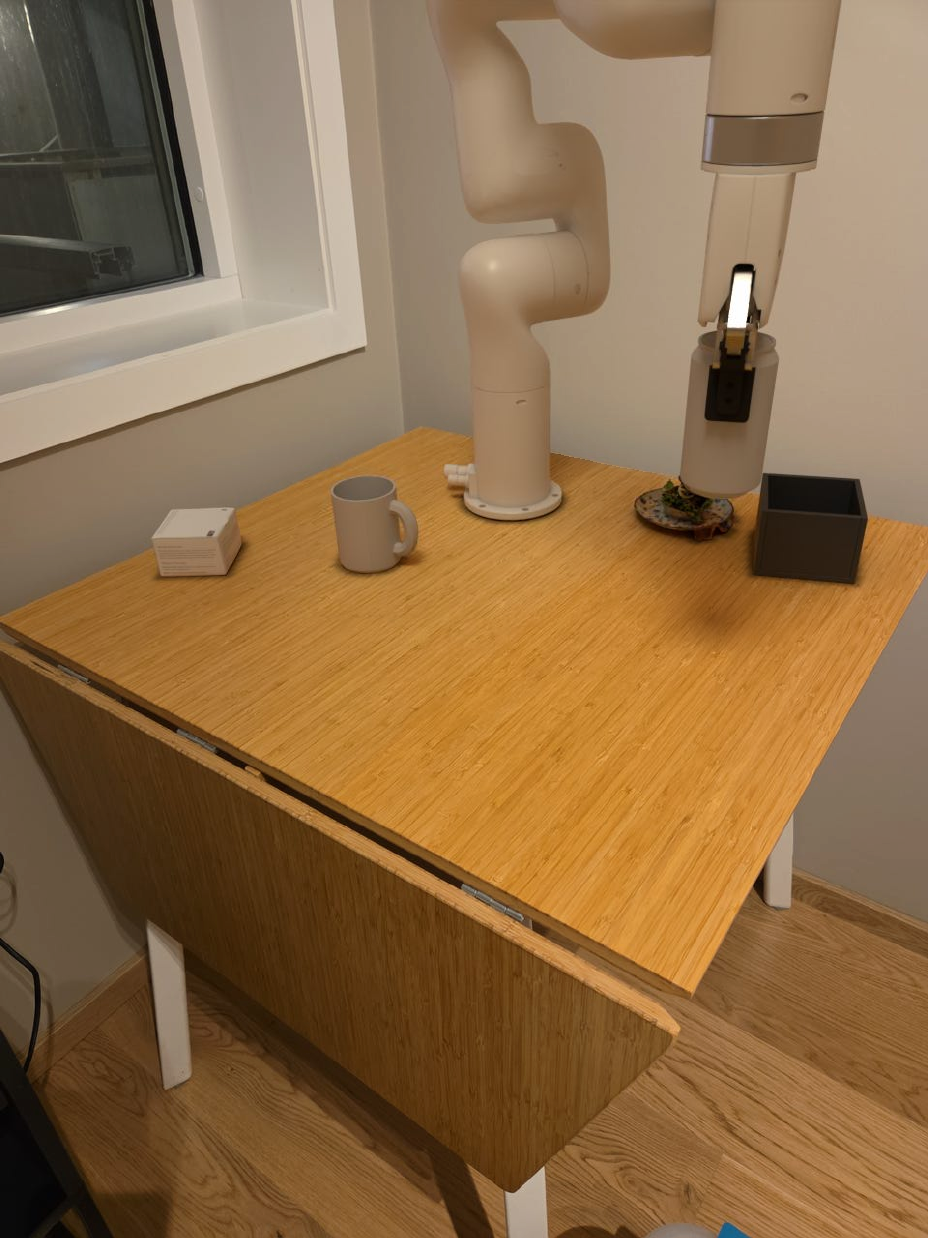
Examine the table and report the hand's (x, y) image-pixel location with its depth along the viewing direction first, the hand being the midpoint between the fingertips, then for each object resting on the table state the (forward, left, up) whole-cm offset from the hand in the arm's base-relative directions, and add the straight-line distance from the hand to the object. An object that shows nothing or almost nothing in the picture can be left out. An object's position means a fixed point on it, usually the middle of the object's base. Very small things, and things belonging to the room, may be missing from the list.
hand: (728, 402), depth 70 cm
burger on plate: (-4, +31, -25) cm, 40 cm away
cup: (-36, +14, -25) cm, 46 cm away
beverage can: (0, 0, -7) cm, 7 cm away
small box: (-57, +10, -25) cm, 63 cm away
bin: (+10, +24, -25) cm, 36 cm away
